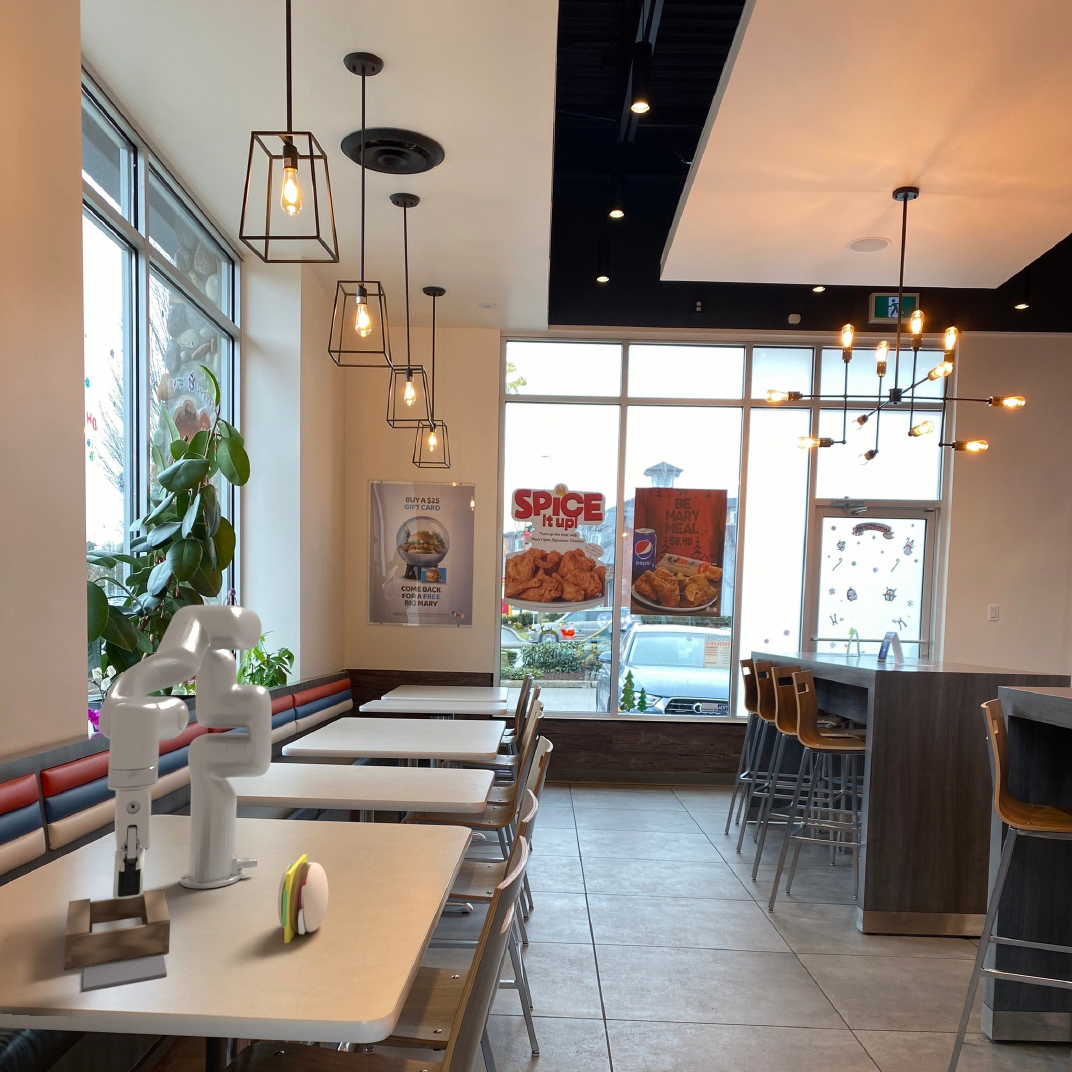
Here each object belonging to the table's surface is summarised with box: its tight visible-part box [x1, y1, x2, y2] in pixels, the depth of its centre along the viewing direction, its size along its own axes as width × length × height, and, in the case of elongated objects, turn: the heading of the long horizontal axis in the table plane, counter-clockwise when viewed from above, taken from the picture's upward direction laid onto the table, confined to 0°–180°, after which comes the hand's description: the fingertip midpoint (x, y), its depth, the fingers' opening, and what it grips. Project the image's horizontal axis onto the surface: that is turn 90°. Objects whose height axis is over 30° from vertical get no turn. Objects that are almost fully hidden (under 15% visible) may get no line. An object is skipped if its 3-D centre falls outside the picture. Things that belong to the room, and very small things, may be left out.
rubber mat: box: [82, 954, 168, 992], centre depth 138 cm, size 12×8×1 cm, turn 117°
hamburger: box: [277, 854, 329, 944], centre depth 157 cm, size 12×8×12 cm
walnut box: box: [63, 888, 171, 971], centre depth 151 cm, size 16×18×6 cm
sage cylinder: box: [112, 846, 146, 899], centre depth 139 cm, size 4×4×7 cm
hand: (128, 889), depth 139 cm, fingers closed on sage cylinder, 4 cm apart
